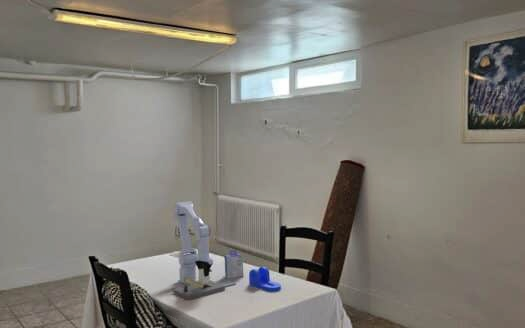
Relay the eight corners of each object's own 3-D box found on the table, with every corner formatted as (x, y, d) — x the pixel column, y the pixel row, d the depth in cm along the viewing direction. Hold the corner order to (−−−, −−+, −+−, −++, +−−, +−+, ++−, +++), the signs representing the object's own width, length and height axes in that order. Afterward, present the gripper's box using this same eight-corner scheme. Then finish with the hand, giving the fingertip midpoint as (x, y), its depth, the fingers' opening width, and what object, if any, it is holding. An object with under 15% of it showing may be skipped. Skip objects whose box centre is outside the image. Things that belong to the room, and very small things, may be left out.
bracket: (249, 285, 253) (249, 268, 252) (261, 281, 258) (260, 265, 258) (272, 292, 239) (272, 275, 239) (284, 289, 245) (283, 271, 244)
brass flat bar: (186, 289, 239) (186, 277, 239) (204, 296, 229) (203, 283, 229) (183, 290, 238) (182, 278, 238) (200, 297, 228) (200, 284, 227)
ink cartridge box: (240, 273, 273) (240, 249, 272) (244, 276, 268) (243, 251, 267) (224, 276, 269) (223, 251, 269) (227, 278, 264) (226, 253, 264)
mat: (212, 284, 255) (212, 283, 255) (225, 280, 261) (225, 279, 261) (221, 288, 248) (221, 287, 248) (235, 284, 254) (235, 283, 254)
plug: (198, 281, 245) (197, 269, 245) (209, 278, 250) (208, 266, 249) (202, 283, 242) (202, 271, 241) (213, 280, 246) (213, 268, 246)
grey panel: (173, 293, 241) (173, 288, 241) (209, 283, 256) (209, 279, 255) (188, 300, 231) (188, 295, 231) (225, 289, 245) (224, 285, 245)
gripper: (189, 248, 247) (189, 273, 248) (204, 253, 236) (205, 279, 237) (200, 245, 251) (201, 271, 252) (216, 250, 240) (216, 276, 241)
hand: (204, 275), depth 245 cm, fingers closed on plug, 4 cm apart
